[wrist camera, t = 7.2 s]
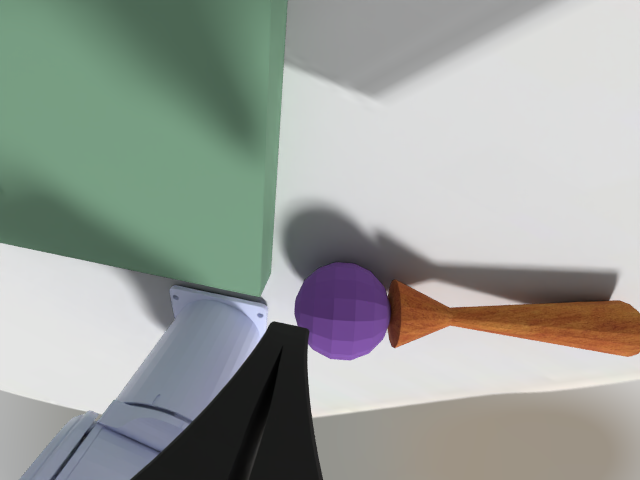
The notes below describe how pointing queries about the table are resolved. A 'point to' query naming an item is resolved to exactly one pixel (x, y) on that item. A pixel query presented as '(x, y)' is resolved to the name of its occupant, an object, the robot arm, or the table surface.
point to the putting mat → (144, 134)
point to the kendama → (445, 317)
